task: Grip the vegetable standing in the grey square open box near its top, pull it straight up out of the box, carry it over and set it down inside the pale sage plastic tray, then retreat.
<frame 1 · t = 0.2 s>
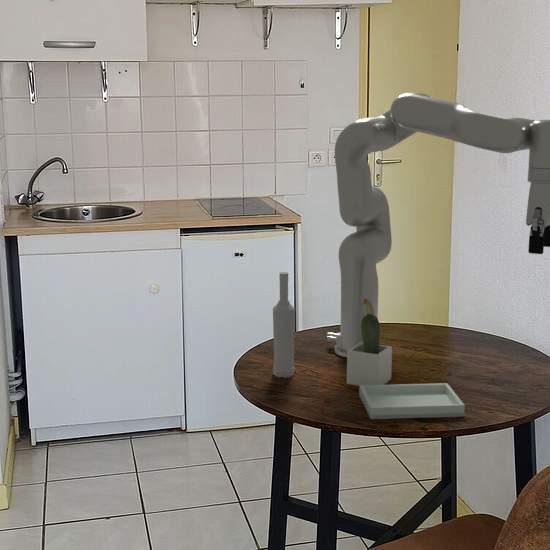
hand: (540, 249, 209), 31 cm above the table, tool pointing down, fingers open, 9 cm apart
grey square open box: (369, 381, 214), on the table
tray: (410, 405, 198), on the table
vegetable: (369, 382, 214), resting in grey square open box
bottle: (283, 375, 219), on the table
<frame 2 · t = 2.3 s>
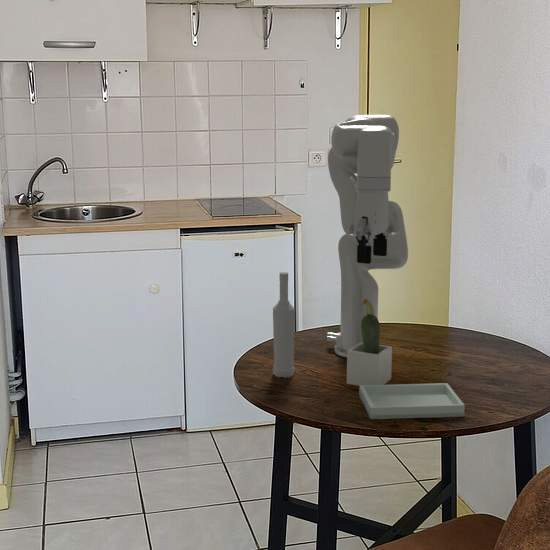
hand: (372, 259, 208), 29 cm above the table, tool pointing down, fingers open, 9 cm apart
nothing on the table moved.
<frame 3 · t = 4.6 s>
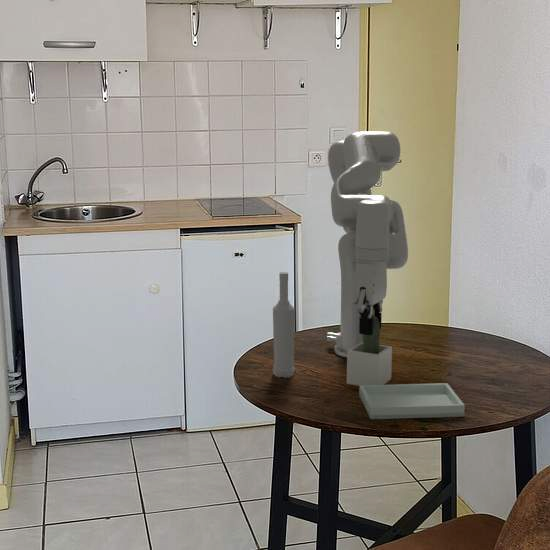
hand: (370, 330, 211), 12 cm above the table, tool pointing down, fingers closed on vegetable, 4 cm apart
vegetable: (369, 382, 214), resting in grey square open box, touching gripper
everything else where it was.
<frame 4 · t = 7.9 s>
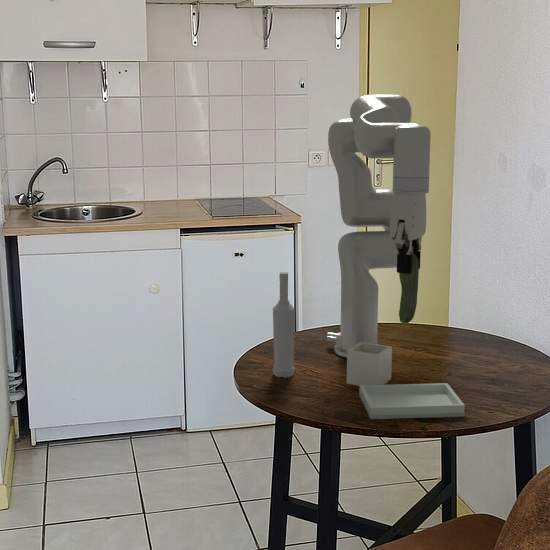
hand: (408, 270, 194), 30 cm above the table, tool pointing down, fingers closed on vegetable, 4 cm apart
vegetable: (406, 326, 196), point 17 cm above the table, touching gripper
everything else where it was.
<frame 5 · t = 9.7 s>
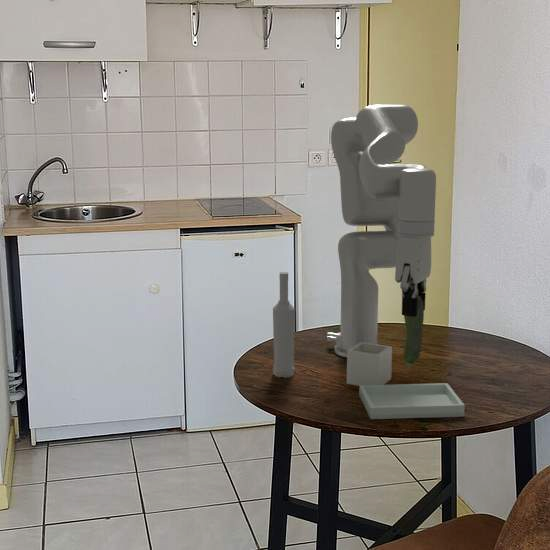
hand: (413, 312, 194), 21 cm above the table, tool pointing down, fingers closed on vegetable, 4 cm apart
vegetable: (411, 368, 196), point 9 cm above the table, touching gripper
everything else where it was.
when the fingers open (15 cm above the table, at t = 11.2 s): vegetable drops 2 cm, resting on tray.
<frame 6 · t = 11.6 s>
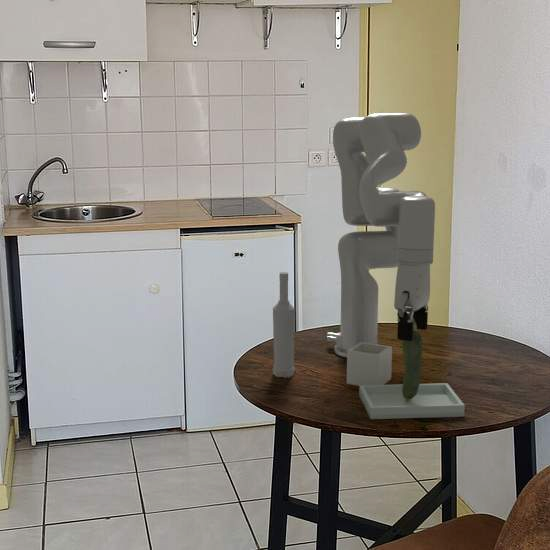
hand: (412, 334, 195), 16 cm above the table, tool pointing down, fingers open, 9 cm apart
vegetable: (409, 402, 198), point 1 cm above the table, touching tray
everything else where it was.
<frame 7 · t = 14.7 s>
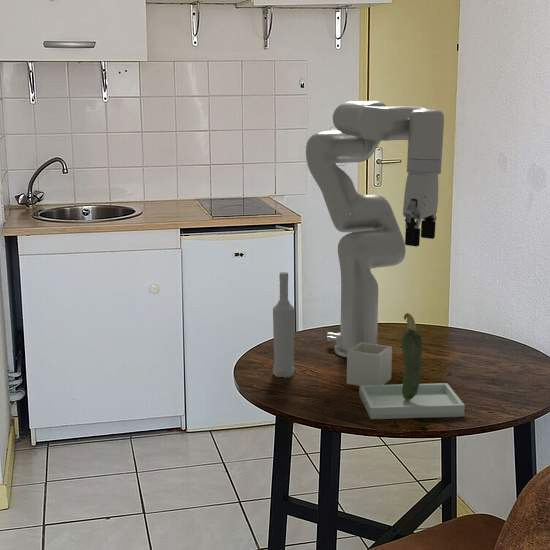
hand: (420, 241, 206), 34 cm above the table, tool pointing down, fingers open, 9 cm apart
nothing on the table moved.
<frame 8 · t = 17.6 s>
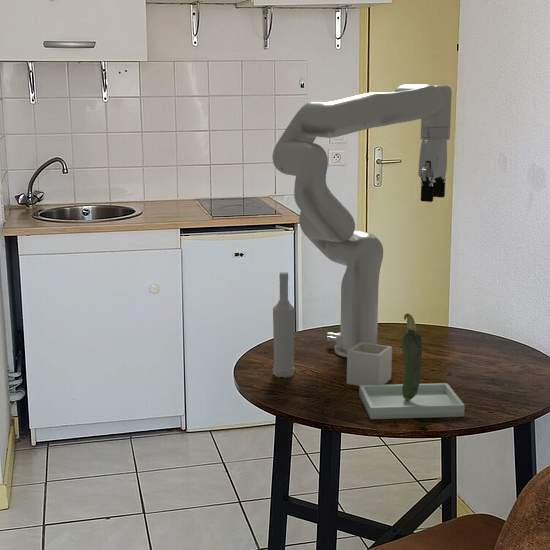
hand: (432, 199, 240), 38 cm above the table, tool pointing down, fingers open, 9 cm apart
nothing on the table moved.
at the end: vegetable 0.2 cm from the tray (horizontally); vegetable point 0.6 cm above the table; the gripper is holding nothing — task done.
